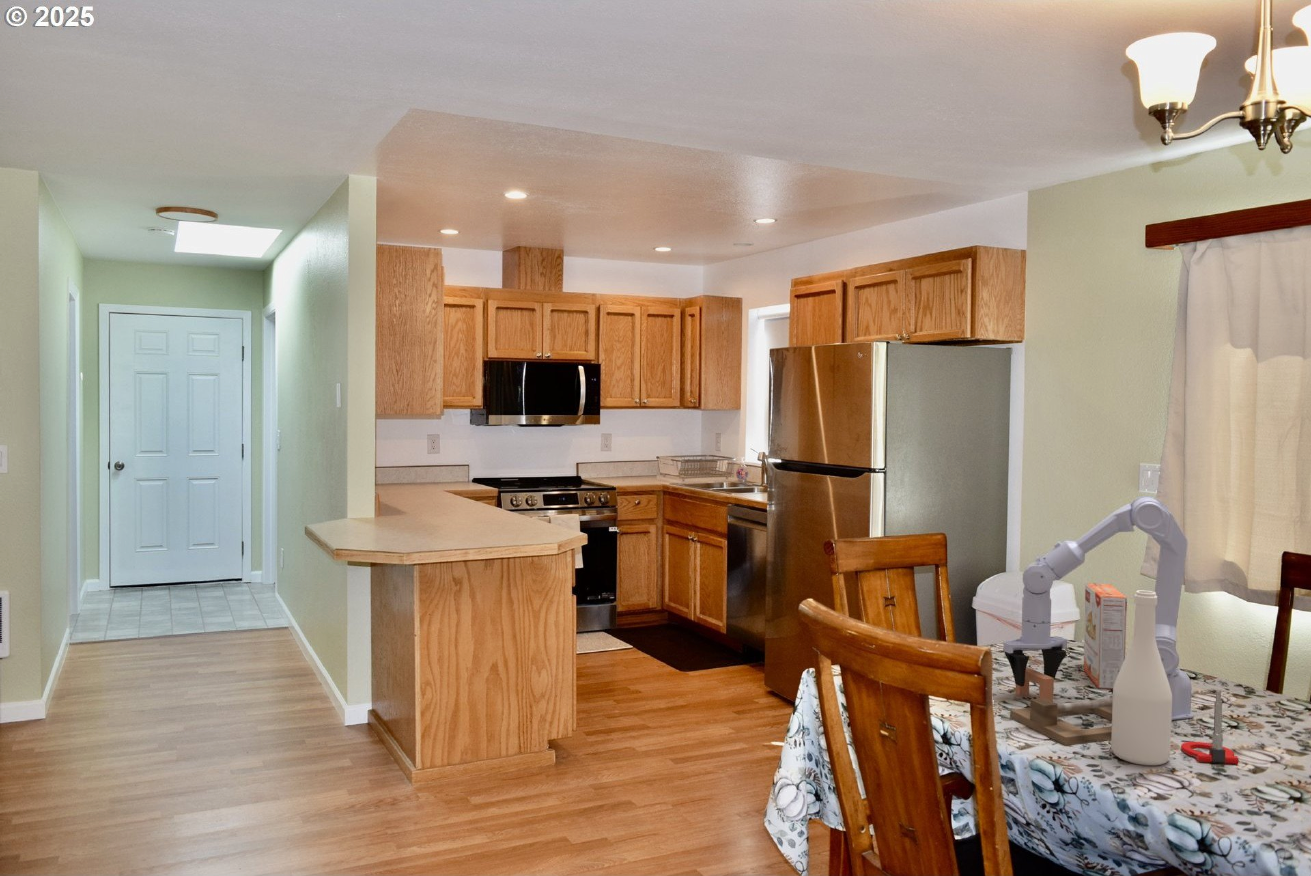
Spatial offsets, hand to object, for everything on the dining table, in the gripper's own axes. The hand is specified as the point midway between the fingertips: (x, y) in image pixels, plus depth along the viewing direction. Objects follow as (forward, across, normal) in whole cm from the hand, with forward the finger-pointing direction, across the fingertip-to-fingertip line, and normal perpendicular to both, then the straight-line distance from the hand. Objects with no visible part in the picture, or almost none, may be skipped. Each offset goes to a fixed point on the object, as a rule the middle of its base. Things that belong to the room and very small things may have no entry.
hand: (1034, 683), depth 209 cm
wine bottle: (+4, +3, +32) cm, 33 cm away
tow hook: (+4, -10, +35) cm, 37 cm away
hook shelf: (+3, 0, +16) cm, 16 cm away
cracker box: (+4, -24, -7) cm, 25 cm away
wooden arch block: (+3, 0, 0) cm, 3 cm away
